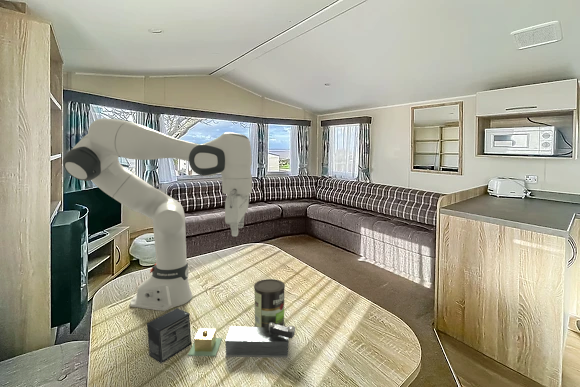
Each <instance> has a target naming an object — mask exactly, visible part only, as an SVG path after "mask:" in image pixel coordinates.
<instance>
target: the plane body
mask: <svg viewBox="0 0 580 387" xmlns="http://www.w3.org/2000/svg"><path fill="white" fill-rule="evenodd" d="M289 339H290V338H287V337H284V336H280V335H277V334H273V335H270V334H269V327H255V326H230V327H229V330H228V333H227V335H226V339H225V358H262V359H263V358H265V359H266V358H267V359H268V358H269V359H273V358H274V359H288V358H289Z"/></svg>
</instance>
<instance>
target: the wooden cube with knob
mask: <svg viewBox="0 0 580 387" xmlns="http://www.w3.org/2000/svg"><path fill="white" fill-rule="evenodd" d="M216 331H217V330H216V328H199V329H198V331H197V333H196V334H195V337H194V338H193V339H194V341H193V344H194V345H195V351H207V352H212V350H213V347H214V345H215V342H216V338H217V335H216V334H217V332H216Z"/></svg>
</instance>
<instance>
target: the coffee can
mask: <svg viewBox="0 0 580 387" xmlns="http://www.w3.org/2000/svg"><path fill="white" fill-rule="evenodd" d="M285 288H286V286H285V283H284V282H283V281H282V280H279V279H273V278H270V279H269V278H266V279H261V280H259V281H256V282H255V284H254V285H253V290H254V327H269V323H271V322H273V323H274V324H277V325H281V326H285Z"/></svg>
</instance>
